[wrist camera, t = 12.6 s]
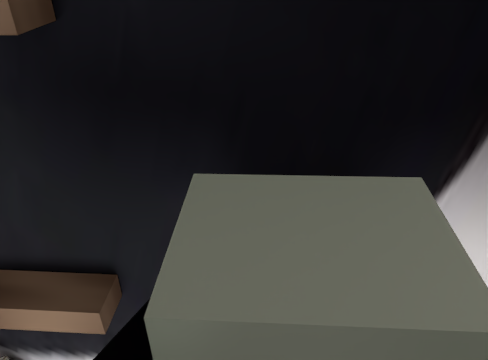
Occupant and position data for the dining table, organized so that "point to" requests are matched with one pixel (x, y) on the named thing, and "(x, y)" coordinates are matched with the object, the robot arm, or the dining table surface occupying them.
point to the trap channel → (51, 283)
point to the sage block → (315, 274)
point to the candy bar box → (4, 358)
